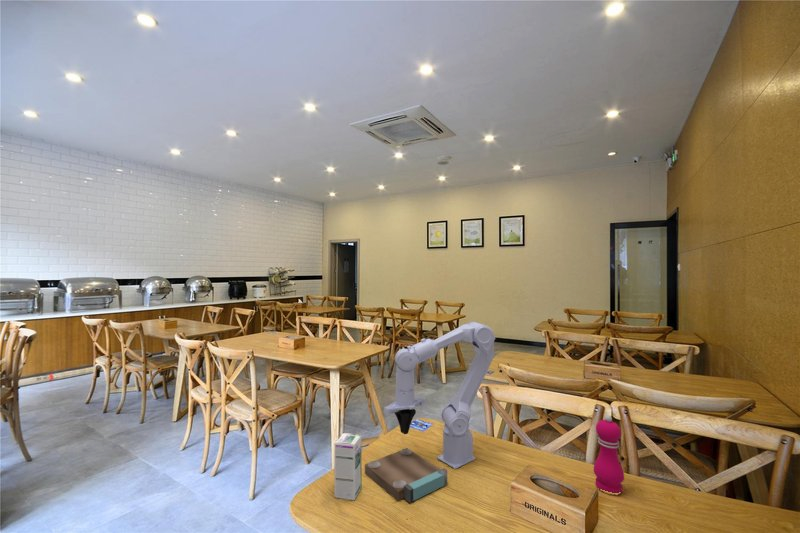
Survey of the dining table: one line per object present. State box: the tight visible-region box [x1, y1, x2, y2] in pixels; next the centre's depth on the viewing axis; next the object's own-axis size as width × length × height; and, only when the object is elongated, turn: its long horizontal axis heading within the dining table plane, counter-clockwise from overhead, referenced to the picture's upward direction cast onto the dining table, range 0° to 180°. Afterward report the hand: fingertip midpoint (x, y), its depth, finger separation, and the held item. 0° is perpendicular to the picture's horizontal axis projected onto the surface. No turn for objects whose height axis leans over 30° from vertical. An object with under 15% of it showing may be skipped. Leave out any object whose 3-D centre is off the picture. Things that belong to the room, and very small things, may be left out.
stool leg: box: [403, 468, 448, 504], centre depth 93 cm, size 14×3×3 cm, turn 127°
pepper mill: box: [593, 414, 625, 493], centre depth 95 cm, size 7×7×20 cm
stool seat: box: [364, 447, 440, 502], centre depth 100 cm, size 16×16×3 cm
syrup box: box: [333, 432, 363, 501], centre depth 92 cm, size 6×6×14 cm
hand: (404, 432), depth 107 cm, fingers closed
